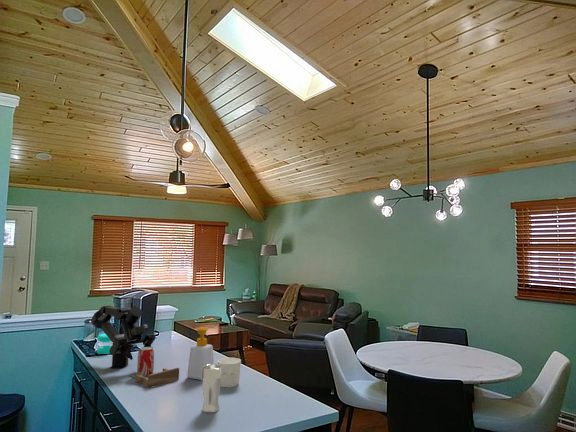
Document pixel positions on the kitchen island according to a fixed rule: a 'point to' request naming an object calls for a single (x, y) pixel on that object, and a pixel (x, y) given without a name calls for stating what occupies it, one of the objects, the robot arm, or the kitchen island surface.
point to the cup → (229, 371)
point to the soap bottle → (200, 355)
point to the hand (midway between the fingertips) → (141, 357)
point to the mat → (137, 374)
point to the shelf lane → (159, 378)
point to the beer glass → (211, 387)
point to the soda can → (145, 361)
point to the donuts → (104, 348)
